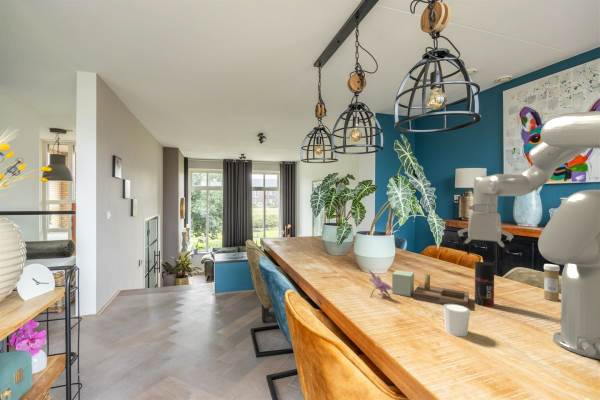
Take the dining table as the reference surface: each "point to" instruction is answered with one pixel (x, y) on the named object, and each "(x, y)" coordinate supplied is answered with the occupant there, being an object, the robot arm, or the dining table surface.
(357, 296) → the dining table surface
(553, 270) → the sprinkles bottle
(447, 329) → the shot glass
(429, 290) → the board
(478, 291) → the deodorant
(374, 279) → the lily
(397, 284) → the green block
